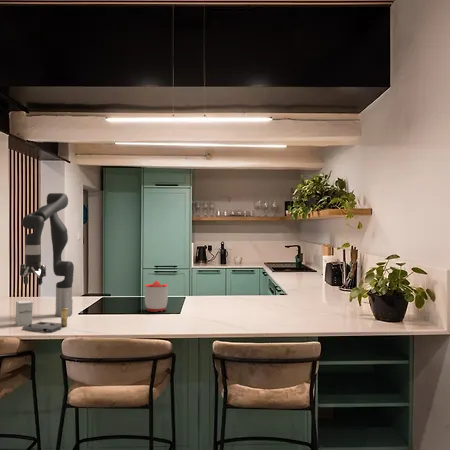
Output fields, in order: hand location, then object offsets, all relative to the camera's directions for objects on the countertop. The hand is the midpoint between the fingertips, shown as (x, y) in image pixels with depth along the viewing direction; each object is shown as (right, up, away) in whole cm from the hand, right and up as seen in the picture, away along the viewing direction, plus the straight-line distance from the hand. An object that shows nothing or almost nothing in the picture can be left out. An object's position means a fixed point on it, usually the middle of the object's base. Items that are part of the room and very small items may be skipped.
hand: (32, 284), depth 220 cm
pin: (+13, -24, +8) cm, 29 cm away
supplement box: (-11, -24, +12) cm, 29 cm away
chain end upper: (+7, -24, +1) cm, 25 cm away
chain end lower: (+2, -24, +2) cm, 24 cm away
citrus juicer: (+56, -26, +57) cm, 84 cm away
